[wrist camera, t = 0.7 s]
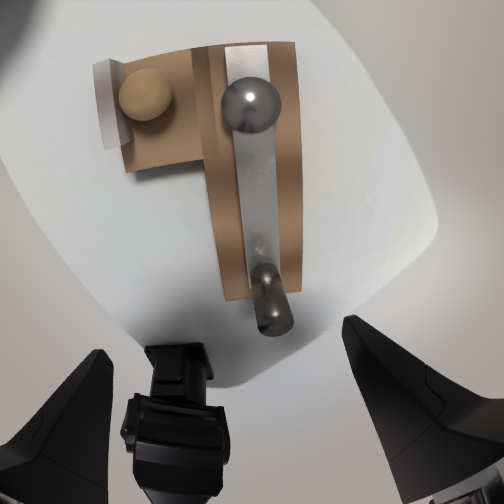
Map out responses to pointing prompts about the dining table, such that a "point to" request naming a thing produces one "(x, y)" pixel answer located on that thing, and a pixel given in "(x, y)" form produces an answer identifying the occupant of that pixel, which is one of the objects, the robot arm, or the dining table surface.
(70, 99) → the dining table surface
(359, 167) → the dining table surface
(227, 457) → the robot arm
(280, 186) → the board
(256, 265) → the lever
